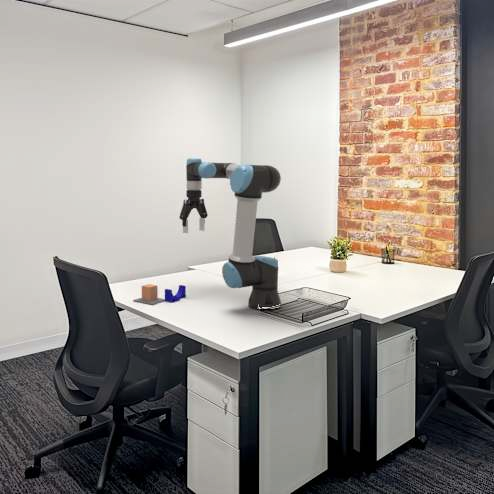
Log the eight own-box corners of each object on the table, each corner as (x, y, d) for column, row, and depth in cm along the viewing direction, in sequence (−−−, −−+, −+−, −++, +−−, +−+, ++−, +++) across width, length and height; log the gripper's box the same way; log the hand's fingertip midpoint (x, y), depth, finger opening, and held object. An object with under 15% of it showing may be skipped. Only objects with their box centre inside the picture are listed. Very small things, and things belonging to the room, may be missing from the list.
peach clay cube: (157, 299, 249) (157, 285, 248) (150, 301, 245) (149, 287, 244) (149, 297, 252) (149, 284, 251) (141, 300, 247) (141, 285, 246)
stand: (166, 300, 249) (166, 288, 248) (152, 305, 241) (152, 292, 240) (147, 297, 255) (147, 285, 255) (133, 301, 247) (132, 288, 246)
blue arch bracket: (172, 303, 246) (172, 290, 245) (164, 301, 248) (164, 289, 247) (188, 298, 256) (188, 286, 255) (180, 296, 258) (180, 285, 257)
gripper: (202, 188, 275) (202, 229, 278) (172, 189, 254) (172, 233, 257) (214, 189, 271) (214, 230, 274) (184, 190, 250) (184, 234, 253)
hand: (193, 231), depth 266 cm, fingers open, 13 cm apart
